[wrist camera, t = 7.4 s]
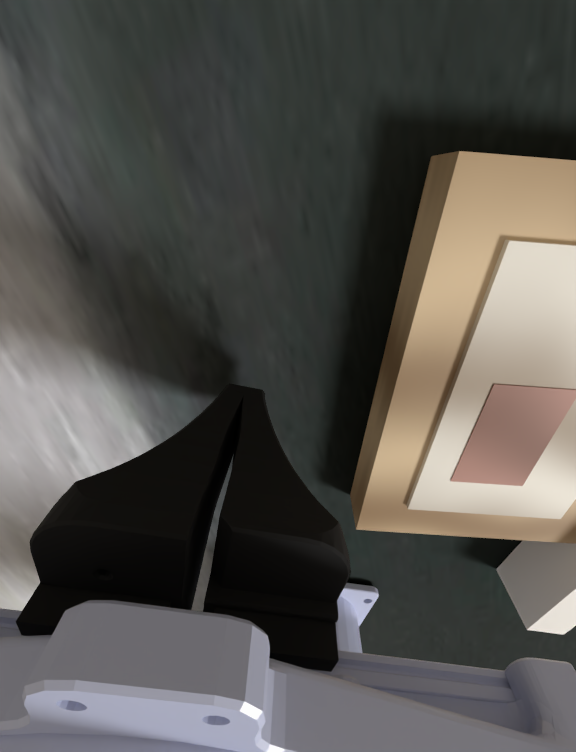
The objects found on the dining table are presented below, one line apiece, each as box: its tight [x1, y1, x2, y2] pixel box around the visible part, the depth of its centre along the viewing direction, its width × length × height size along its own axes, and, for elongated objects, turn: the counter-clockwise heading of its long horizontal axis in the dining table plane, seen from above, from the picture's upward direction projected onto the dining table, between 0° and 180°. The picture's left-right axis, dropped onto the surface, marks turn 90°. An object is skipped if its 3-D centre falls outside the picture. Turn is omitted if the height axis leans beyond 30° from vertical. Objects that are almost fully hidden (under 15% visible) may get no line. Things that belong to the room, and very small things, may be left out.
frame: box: [350, 151, 576, 544], centre depth 12 cm, size 14×10×3 cm
